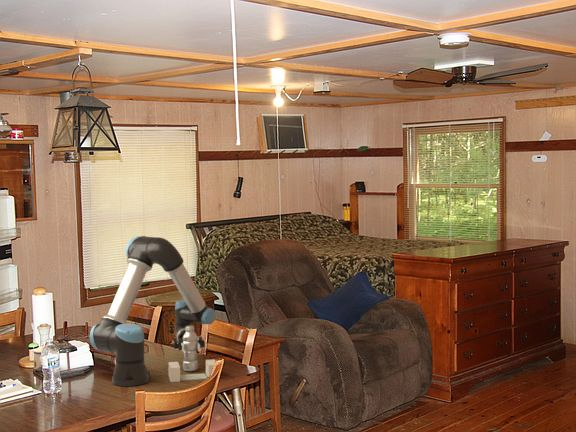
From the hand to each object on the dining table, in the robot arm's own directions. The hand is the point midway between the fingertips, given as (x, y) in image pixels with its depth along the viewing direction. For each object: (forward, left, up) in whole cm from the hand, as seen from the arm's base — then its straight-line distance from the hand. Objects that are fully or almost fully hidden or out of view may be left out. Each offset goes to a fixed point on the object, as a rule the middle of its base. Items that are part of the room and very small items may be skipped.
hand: (191, 348), depth 334 cm
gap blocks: (-4, -4, -11) cm, 12 cm away
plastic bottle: (+3, +4, -11) cm, 12 cm away
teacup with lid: (-34, +58, -11) cm, 68 cm away
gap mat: (-4, -4, -11) cm, 12 cm away
